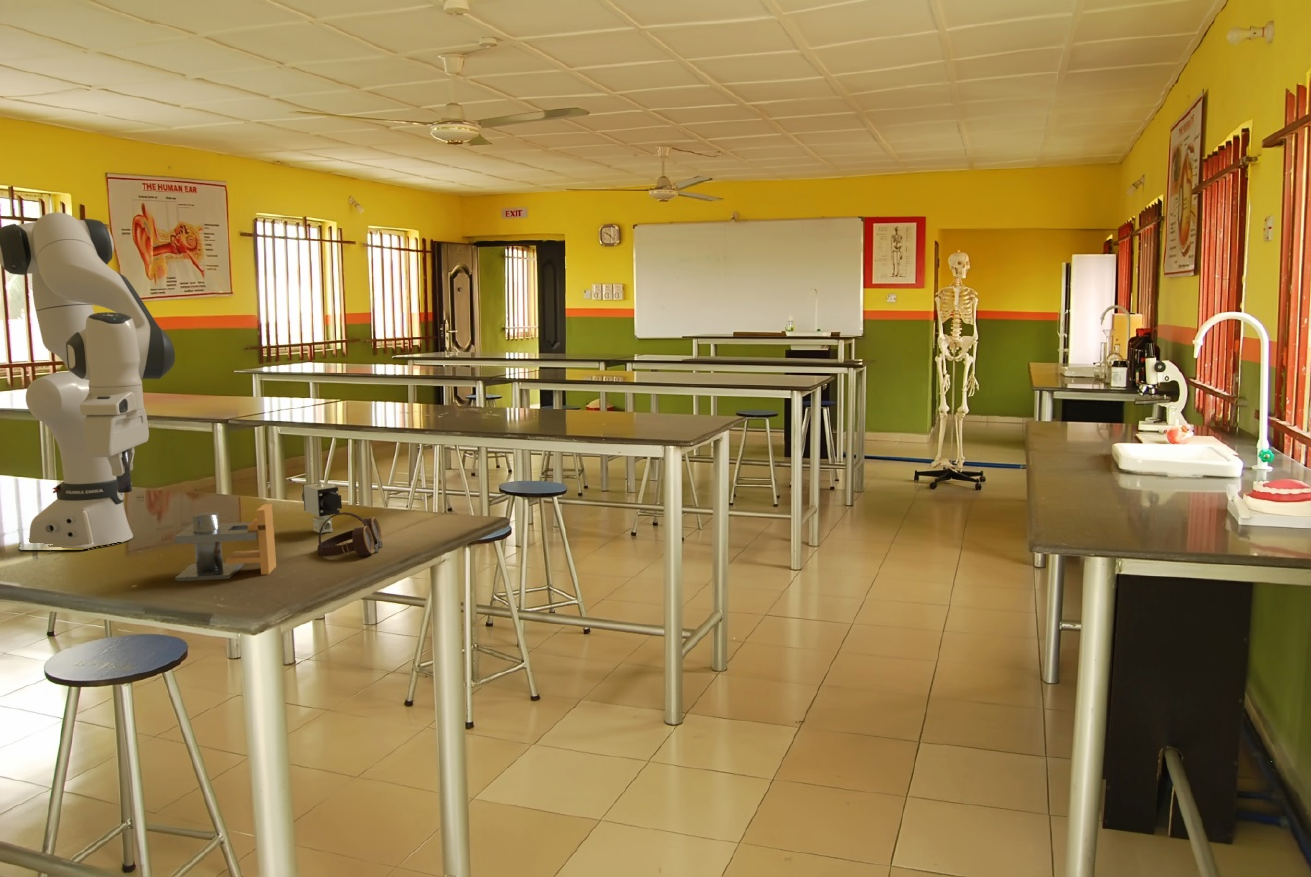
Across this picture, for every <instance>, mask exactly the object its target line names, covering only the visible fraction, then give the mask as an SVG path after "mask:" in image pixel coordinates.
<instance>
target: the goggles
mask: <svg viewBox="0 0 1311 877" xmlns="http://www.w3.org/2000/svg"><path fill="white" fill-rule="evenodd" d="M341 515H342V516H343V515H344V516H345V515H346V516H351V517H353V518H356V519H358V520H359V521H360V522H362V524H363V526H362V527H355V528H354V529H352V530H348V531H345V532H343V533H340V534H337V535H334V536H331V537H329V538H327V539H326V540H323V541H322V534H321V532H322V529H323V526H324V525H325V523H326V522H327V521H328V520H329V519H330V518H332V519H333V518H334V517H336V516H341ZM329 517H330V518H328V519H327V520H326V521H325V522H324V524H323V525H322V527H321V529H320V532H319V533H318V545H317V550H316V551H317V552H318V554H319V555H320V556H321V557H325V558H326V557H333V556H340V555H349V554H351V552H355V553H356V555H357V556H358V557H360V558H362V557H361V556H363V557H366V556H369V555H371V554H374V552H376V553H378V552H380V548H383V541H382V540H383V535H382V530H381V525H380V524H379V521H378V520H377V518H376V517H371V518H362V517H361V516H359V515H358V514H355V513H352V512H346V511H345V512H340V513H337V514H333V515H330V516H329ZM348 541H351V542H348ZM365 555H366V556H365Z"/></svg>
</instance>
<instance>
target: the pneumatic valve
mask: <svg viewBox="0 0 1311 877" xmlns="http://www.w3.org/2000/svg"><path fill="white" fill-rule="evenodd" d="M301 498H302V502H303V505H304V506H303V508H304V511H305V512H308V513H309V514H312V515H314V517H313V518H311V519H312V521H313V525H312V526H313V528H312V531H313V532H315V533H317V534H319V532H320V529H321V527H322V525H323V524H324V522H325V521H326V520H327V519H328V518H330V517H331V516H333V515H335V514H337V513H341V512H340V509H342V508H343V507H342V495H341V494H339V487H338V486H336V485H335V484H334V485H333V484H329V483H325V482H323V481H322V480H318V481H317V482H314V483H309V484H302V494H301ZM316 516H317V517H316ZM332 521H333V517H332V518H330V519H329V520H328V521H327V522H326V523H325V525H324V526H323V529H322V532H321V535H322V534H323V533H328V532H330V533H333V531H334V529H333V528H332V527H333V523H332Z"/></svg>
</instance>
